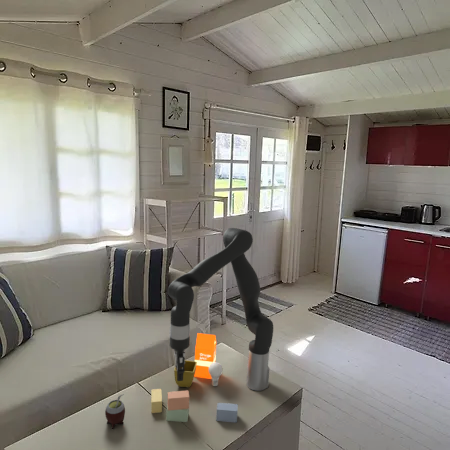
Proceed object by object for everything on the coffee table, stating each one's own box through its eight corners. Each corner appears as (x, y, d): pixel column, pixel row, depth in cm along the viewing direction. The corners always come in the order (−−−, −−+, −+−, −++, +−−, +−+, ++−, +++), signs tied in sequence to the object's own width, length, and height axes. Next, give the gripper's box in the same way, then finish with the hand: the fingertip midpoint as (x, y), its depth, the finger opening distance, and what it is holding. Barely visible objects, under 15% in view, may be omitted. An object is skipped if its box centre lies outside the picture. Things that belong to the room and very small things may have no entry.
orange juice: (197, 367, 172) (199, 329, 169) (215, 369, 171) (217, 331, 168) (193, 376, 164) (195, 336, 161) (212, 379, 163) (214, 339, 160)
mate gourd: (109, 416, 136) (109, 380, 134) (129, 417, 136) (129, 382, 134) (102, 430, 129) (101, 393, 127) (123, 431, 129) (123, 394, 126)
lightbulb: (211, 391, 154) (212, 368, 153) (205, 383, 160) (206, 360, 158) (224, 387, 157) (225, 365, 156) (217, 380, 163) (219, 358, 161)
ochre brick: (151, 400, 147) (151, 389, 146) (161, 399, 148) (161, 388, 147) (151, 413, 139) (151, 402, 138) (161, 412, 140) (161, 401, 139)
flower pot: (196, 379, 163) (197, 361, 161) (192, 391, 154) (193, 372, 153) (177, 377, 163) (178, 359, 162) (173, 388, 155) (173, 370, 153)
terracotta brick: (187, 401, 139) (188, 390, 139) (188, 408, 136) (189, 396, 135) (167, 403, 138) (167, 392, 137) (167, 410, 134) (168, 398, 133)
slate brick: (237, 415, 140) (237, 404, 140) (236, 422, 136) (237, 411, 136) (217, 413, 141) (217, 402, 140) (216, 420, 137) (216, 409, 136)
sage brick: (188, 414, 139) (188, 403, 139) (187, 422, 135) (187, 410, 135) (168, 413, 140) (168, 402, 139) (166, 420, 136) (166, 408, 135)
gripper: (192, 342, 126) (191, 384, 128) (187, 324, 139) (186, 362, 142) (170, 344, 124) (170, 386, 127) (168, 326, 138) (168, 364, 140)
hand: (179, 373), depth 134 cm, fingers open, 8 cm apart
